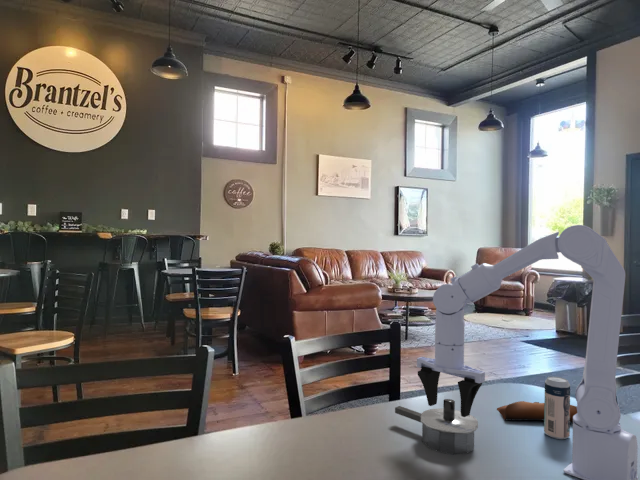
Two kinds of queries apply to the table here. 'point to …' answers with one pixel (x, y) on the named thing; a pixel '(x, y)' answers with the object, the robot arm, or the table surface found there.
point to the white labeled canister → (557, 408)
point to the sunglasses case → (528, 411)
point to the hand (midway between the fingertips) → (448, 409)
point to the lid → (449, 420)
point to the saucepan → (440, 436)
